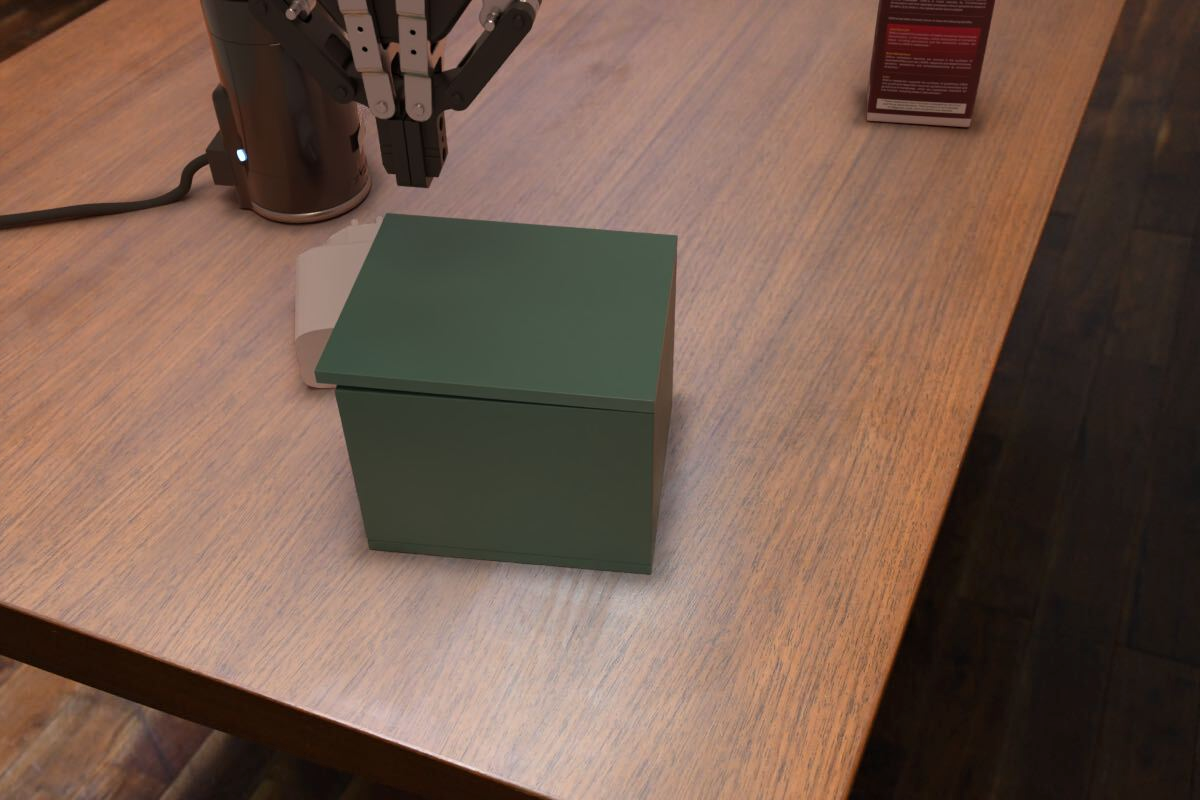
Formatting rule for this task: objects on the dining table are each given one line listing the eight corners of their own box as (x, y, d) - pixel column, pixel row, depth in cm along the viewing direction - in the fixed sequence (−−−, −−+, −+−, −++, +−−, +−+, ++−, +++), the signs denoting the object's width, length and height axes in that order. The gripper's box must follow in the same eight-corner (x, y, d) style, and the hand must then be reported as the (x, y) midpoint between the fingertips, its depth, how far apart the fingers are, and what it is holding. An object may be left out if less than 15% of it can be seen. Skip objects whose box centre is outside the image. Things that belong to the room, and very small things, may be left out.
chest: (368, 549, 67) (333, 390, 59) (426, 386, 77) (402, 230, 69) (651, 575, 65) (654, 414, 57) (672, 404, 75) (677, 247, 67)
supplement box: (967, 101, 102) (1007, -89, 92) (970, 130, 99) (1011, -65, 88) (863, 93, 103) (890, -95, 93) (862, 122, 100) (890, -71, 89)
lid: (316, 383, 58) (313, 370, 58) (387, 224, 68) (386, 212, 68) (654, 413, 57) (654, 401, 56) (677, 246, 67) (678, 234, 66)
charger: (435, 240, 88) (452, 373, 77) (307, 254, 87) (305, 391, 76) (427, 184, 85) (444, 315, 74) (294, 199, 84) (291, 333, 73)
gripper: (557, -237, 48) (567, 147, 60) (236, -248, 49) (308, 129, 61) (522, -175, 43) (541, 234, 54) (163, -189, 44) (257, 212, 56)
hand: (417, 178), depth 58 cm, fingers closed
